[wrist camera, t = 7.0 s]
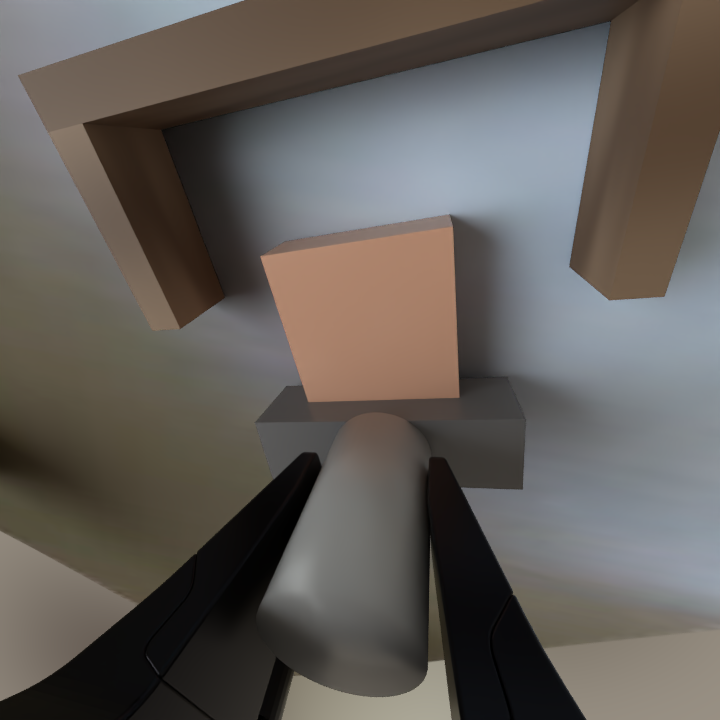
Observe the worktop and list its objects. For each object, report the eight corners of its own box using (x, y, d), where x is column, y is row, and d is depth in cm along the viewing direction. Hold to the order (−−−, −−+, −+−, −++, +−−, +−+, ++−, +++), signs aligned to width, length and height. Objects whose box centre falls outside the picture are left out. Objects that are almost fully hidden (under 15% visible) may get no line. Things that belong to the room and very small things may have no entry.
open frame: (610, 262, 9) (664, 296, 7) (201, 299, 12) (152, 330, 10) (688, -72, 6) (828, -194, 4) (113, 93, 9) (17, 74, 7)
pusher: (506, 443, 12) (597, 743, 5) (301, 442, 14) (175, 658, 7) (507, 368, 11) (625, 627, 4) (284, 379, 13) (116, 564, 6)
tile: (455, 363, 12) (459, 397, 10) (324, 370, 13) (308, 402, 11) (449, 213, 9) (453, 226, 8) (287, 240, 11) (260, 256, 9)
